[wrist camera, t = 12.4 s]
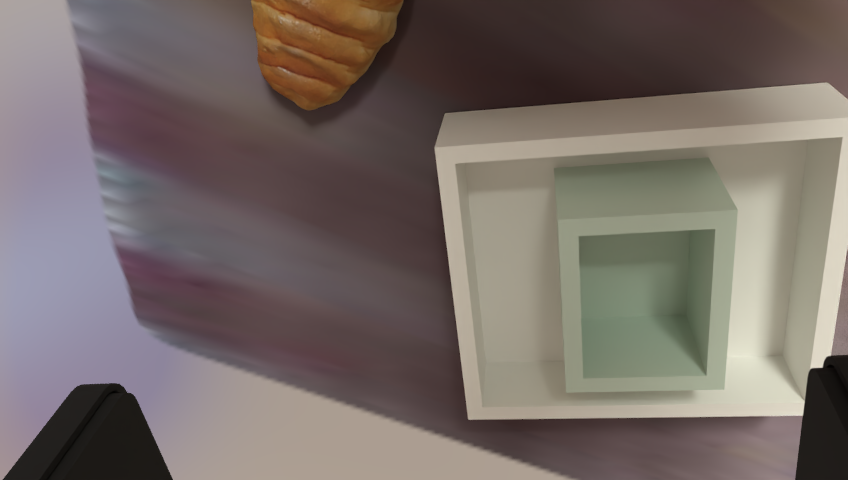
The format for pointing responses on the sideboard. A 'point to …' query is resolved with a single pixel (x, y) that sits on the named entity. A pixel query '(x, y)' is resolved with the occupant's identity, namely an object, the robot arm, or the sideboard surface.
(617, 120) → the big crate
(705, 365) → the small crate
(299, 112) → the sideboard surface
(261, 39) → the pastry
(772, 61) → the sideboard surface
